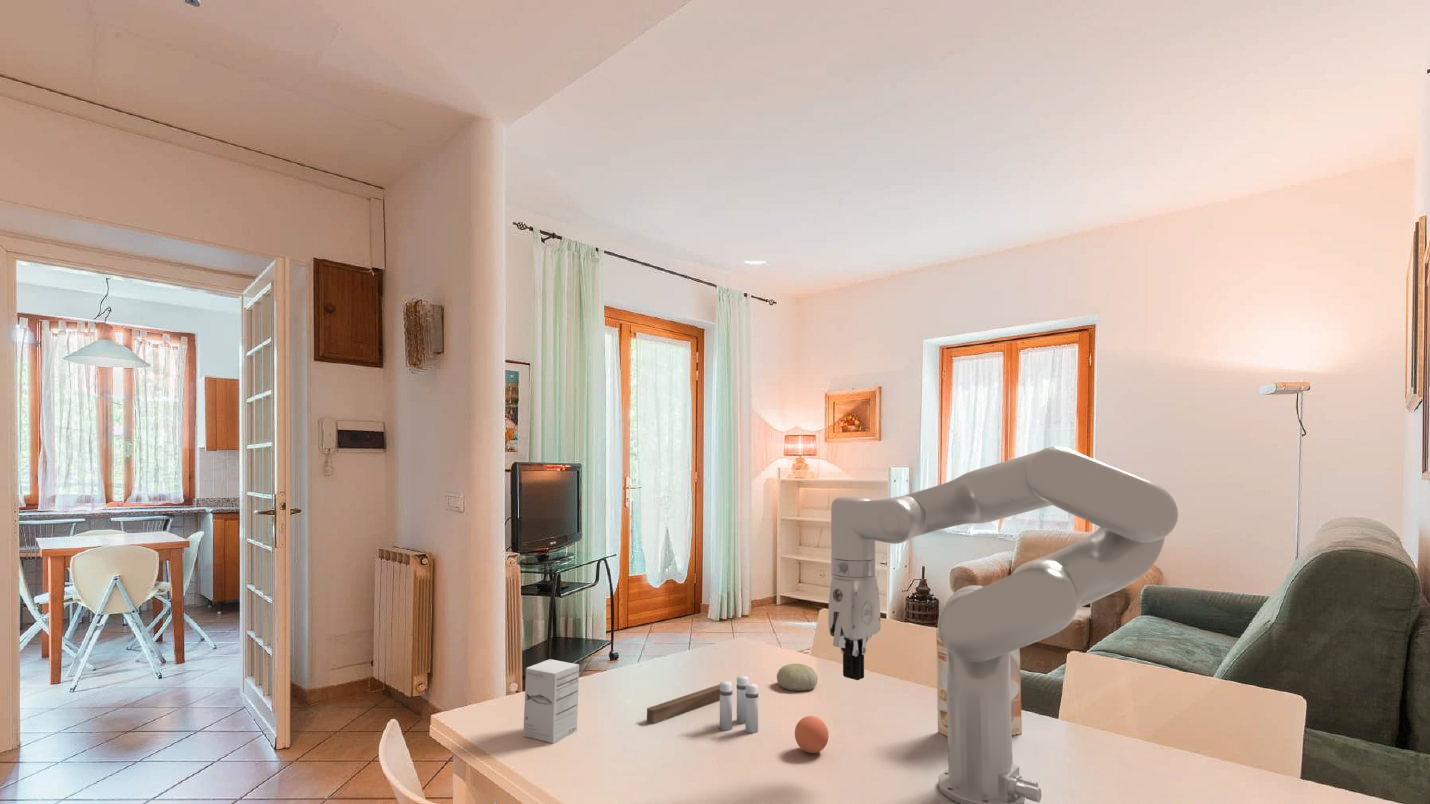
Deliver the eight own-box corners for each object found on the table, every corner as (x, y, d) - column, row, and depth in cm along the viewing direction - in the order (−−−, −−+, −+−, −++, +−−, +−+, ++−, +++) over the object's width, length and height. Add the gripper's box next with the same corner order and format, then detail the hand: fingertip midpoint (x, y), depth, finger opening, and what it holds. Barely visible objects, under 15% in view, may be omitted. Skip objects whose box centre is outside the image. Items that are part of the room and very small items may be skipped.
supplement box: (521, 737, 128) (524, 667, 130) (548, 724, 135) (550, 657, 136) (552, 745, 125) (554, 673, 126) (578, 731, 131) (580, 663, 133)
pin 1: (734, 727, 134) (735, 683, 134) (726, 731, 132) (726, 686, 133) (725, 724, 135) (725, 680, 136) (716, 727, 134) (717, 683, 134)
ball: (835, 751, 123) (835, 716, 123) (815, 762, 119) (815, 725, 119) (807, 742, 127) (807, 708, 128) (788, 751, 123) (787, 717, 123)
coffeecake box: (962, 745, 126) (959, 636, 128) (936, 731, 133) (934, 628, 134) (1024, 734, 132) (1021, 630, 134) (996, 721, 138) (993, 622, 140)
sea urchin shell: (820, 685, 154) (795, 658, 156) (795, 709, 155) (770, 682, 156) (822, 673, 163) (798, 647, 165) (798, 696, 164) (774, 670, 165)
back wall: (728, 697, 151) (728, 685, 152) (653, 723, 135) (653, 710, 136) (721, 695, 153) (722, 683, 153) (646, 721, 137) (646, 708, 137)
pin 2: (751, 721, 137) (751, 677, 138) (743, 724, 136) (743, 680, 136) (742, 717, 139) (742, 674, 140) (733, 721, 137) (734, 677, 138)
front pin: (760, 730, 132) (761, 685, 133) (752, 734, 131) (752, 688, 131) (751, 727, 134) (751, 682, 135) (742, 730, 132) (742, 685, 133)
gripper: (848, 576, 112) (848, 693, 110) (894, 567, 123) (895, 673, 121) (810, 570, 117) (810, 682, 115) (857, 562, 128) (857, 664, 126)
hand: (853, 677), depth 118 cm, fingers closed
